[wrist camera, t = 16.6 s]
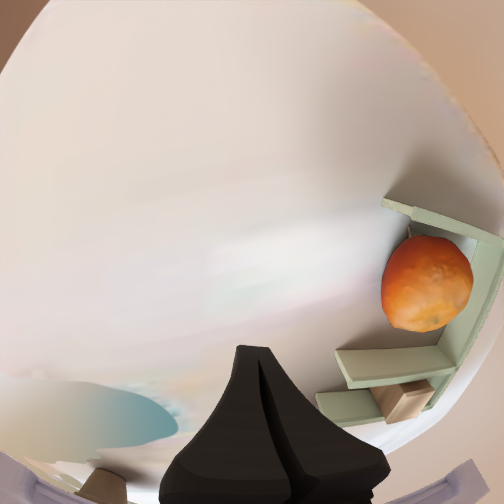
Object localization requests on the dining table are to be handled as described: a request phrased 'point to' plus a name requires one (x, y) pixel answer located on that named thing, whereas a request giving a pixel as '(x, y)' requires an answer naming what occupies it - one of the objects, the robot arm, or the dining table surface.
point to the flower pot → (104, 488)
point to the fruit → (425, 283)
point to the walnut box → (402, 399)
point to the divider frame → (426, 357)
